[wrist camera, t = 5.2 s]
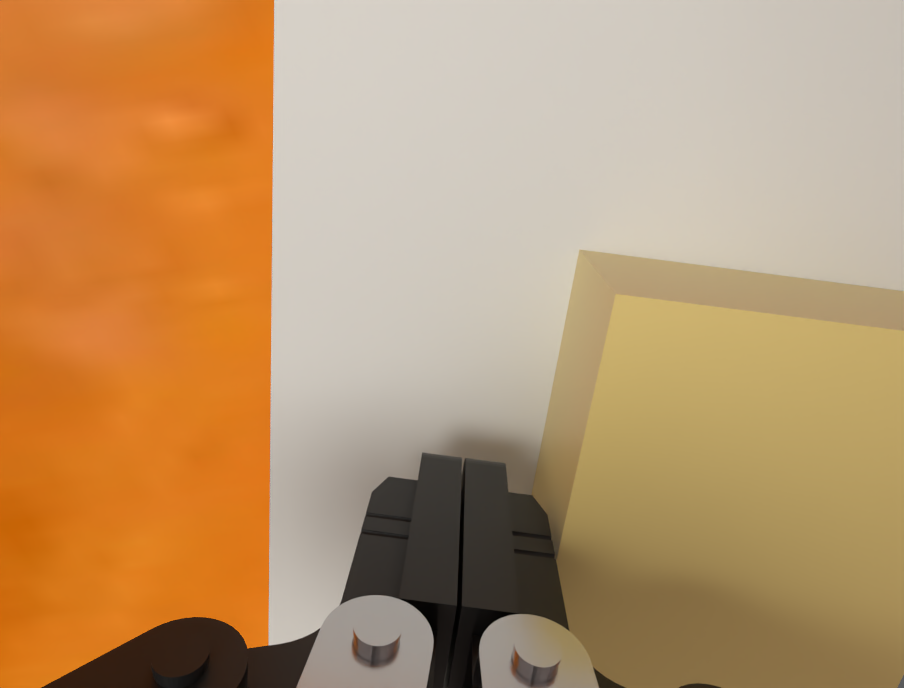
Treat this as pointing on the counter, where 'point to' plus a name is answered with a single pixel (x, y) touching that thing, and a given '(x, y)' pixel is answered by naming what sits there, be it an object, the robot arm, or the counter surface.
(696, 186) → the white flat block
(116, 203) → the counter surface
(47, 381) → the counter surface
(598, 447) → the yellow block
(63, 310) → the counter surface
